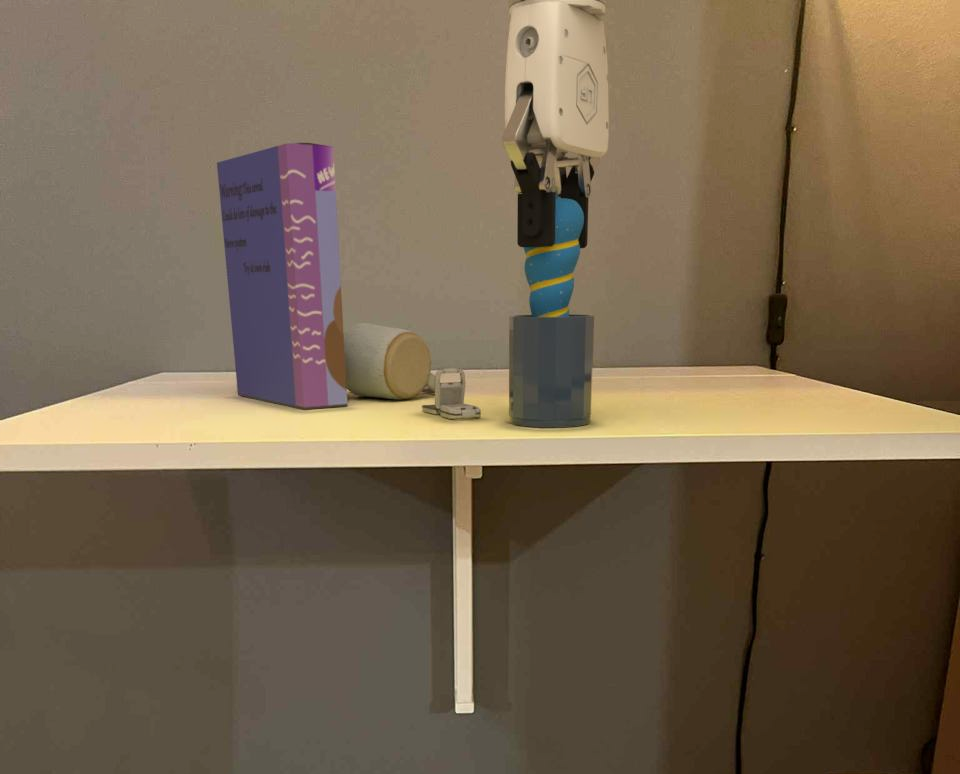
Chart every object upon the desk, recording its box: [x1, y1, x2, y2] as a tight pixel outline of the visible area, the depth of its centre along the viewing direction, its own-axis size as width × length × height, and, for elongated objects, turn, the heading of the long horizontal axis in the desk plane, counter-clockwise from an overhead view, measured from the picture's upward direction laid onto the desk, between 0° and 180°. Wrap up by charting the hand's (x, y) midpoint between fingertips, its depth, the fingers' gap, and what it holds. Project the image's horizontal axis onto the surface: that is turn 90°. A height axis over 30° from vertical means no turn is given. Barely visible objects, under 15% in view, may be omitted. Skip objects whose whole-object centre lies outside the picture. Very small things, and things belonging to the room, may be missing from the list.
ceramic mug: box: [343, 322, 436, 401], centre depth 107 cm, size 11×8×8 cm
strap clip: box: [421, 367, 482, 420], centre depth 92 cm, size 8×3×4 cm, turn 25°
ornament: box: [522, 176, 584, 317], centre depth 83 cm, size 5×5×15 cm
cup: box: [508, 313, 595, 429], centre depth 86 cm, size 7×7×9 cm
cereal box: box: [216, 142, 348, 411], centre depth 101 cm, size 17×5×24 cm, turn 35°
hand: (553, 245), depth 82 cm, fingers closed on ornament, 5 cm apart
